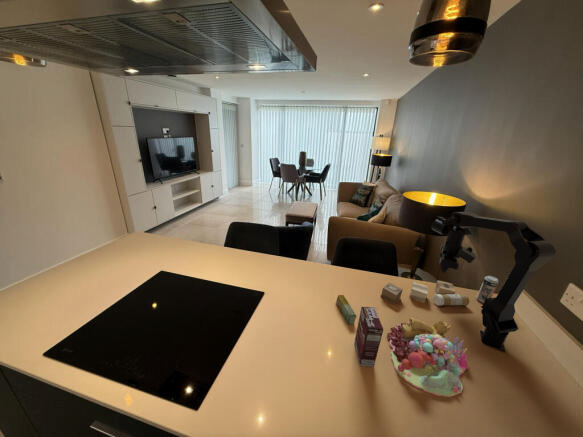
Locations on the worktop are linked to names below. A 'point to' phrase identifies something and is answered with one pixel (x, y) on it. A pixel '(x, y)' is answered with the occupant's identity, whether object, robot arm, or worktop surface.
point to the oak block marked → (444, 288)
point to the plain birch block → (418, 292)
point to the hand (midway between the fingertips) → (443, 272)
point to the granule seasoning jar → (450, 299)
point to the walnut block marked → (391, 293)
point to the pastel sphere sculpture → (428, 357)
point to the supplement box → (368, 336)
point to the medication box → (346, 309)
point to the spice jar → (487, 288)
